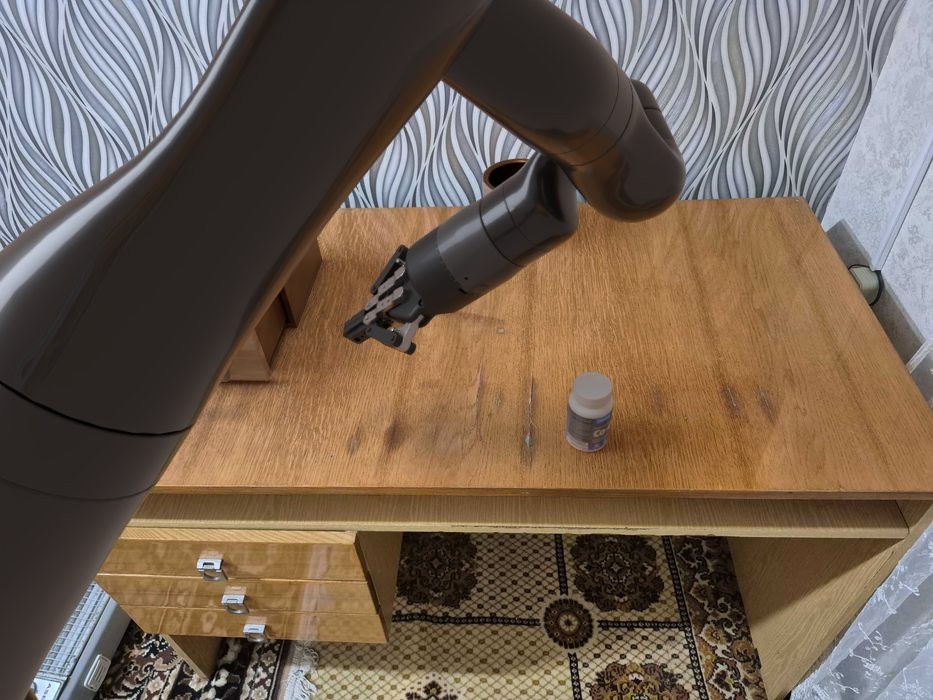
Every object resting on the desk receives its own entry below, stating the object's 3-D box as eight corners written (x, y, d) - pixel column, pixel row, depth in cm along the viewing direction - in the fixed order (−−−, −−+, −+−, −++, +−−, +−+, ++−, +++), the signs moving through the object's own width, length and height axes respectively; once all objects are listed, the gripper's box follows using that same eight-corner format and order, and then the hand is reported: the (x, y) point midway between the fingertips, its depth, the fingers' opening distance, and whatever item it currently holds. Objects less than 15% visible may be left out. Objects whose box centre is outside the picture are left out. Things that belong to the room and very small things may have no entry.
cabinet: (297, 328, 90) (277, 265, 82) (207, 327, 91) (180, 265, 83) (322, 259, 101) (307, 198, 93) (242, 259, 102) (221, 199, 94)
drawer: (257, 411, 78) (235, 359, 72) (164, 410, 79) (135, 358, 73) (298, 304, 92) (282, 252, 86) (219, 304, 93) (198, 253, 87)
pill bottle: (597, 459, 71) (604, 408, 66) (558, 442, 73) (561, 391, 68) (615, 429, 74) (623, 378, 68) (576, 413, 76) (581, 362, 70)
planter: (542, 256, 98) (544, 200, 92) (473, 244, 101) (470, 189, 95) (560, 217, 105) (563, 162, 99) (496, 207, 108) (494, 153, 102)
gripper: (440, 182, 61) (328, 269, 71) (437, 292, 54) (311, 373, 63) (495, 225, 66) (382, 301, 75) (498, 332, 58) (372, 402, 68)
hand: (350, 334), depth 69 cm, fingers closed
